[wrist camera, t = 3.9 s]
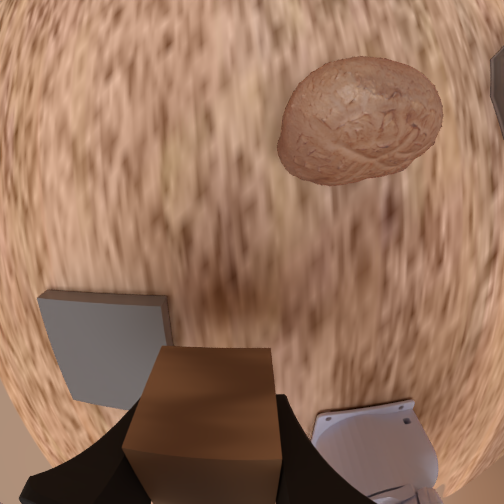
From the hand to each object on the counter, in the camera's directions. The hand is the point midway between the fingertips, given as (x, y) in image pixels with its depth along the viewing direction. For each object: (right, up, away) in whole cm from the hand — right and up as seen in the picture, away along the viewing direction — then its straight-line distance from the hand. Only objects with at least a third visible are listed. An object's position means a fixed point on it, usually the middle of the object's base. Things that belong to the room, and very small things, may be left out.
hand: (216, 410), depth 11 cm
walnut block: (0, 0, +1) cm, 1 cm away
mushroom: (+6, +13, +5) cm, 16 cm away
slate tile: (-9, -1, +9) cm, 13 cm away
